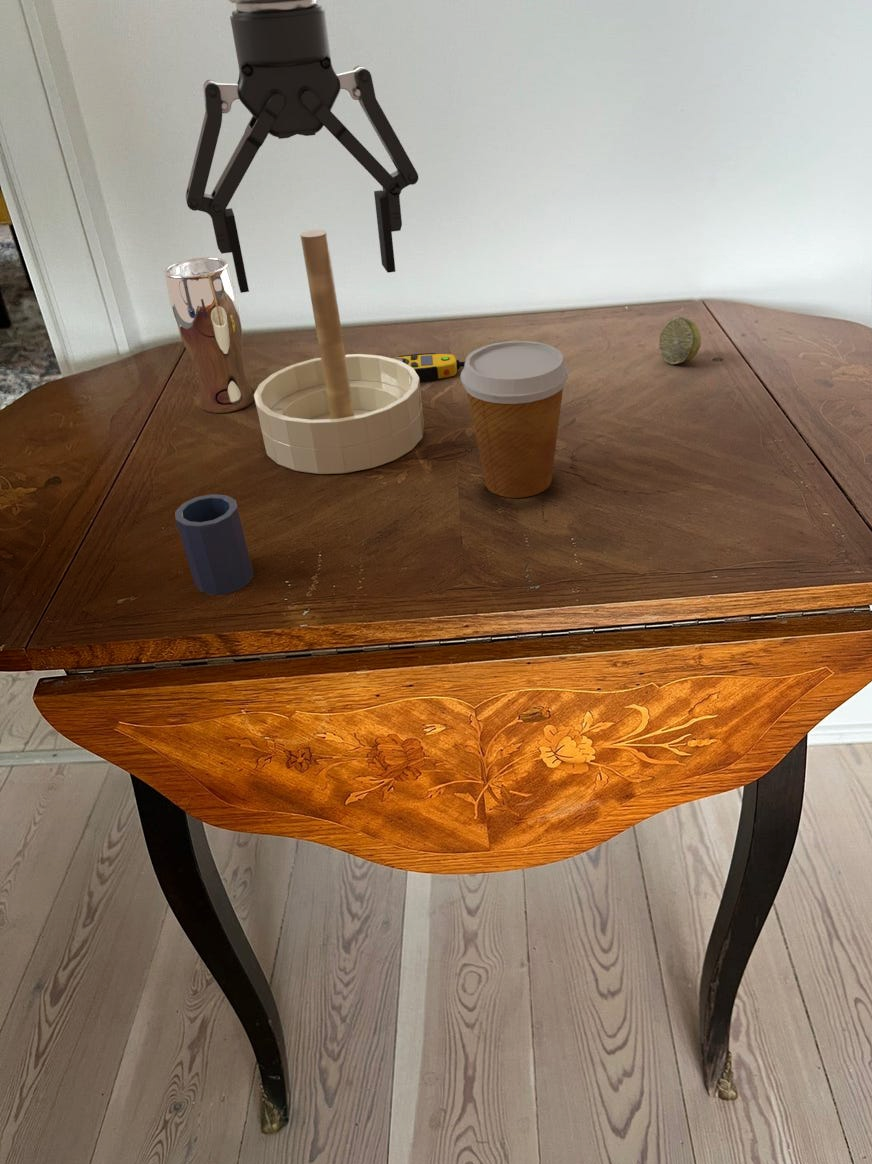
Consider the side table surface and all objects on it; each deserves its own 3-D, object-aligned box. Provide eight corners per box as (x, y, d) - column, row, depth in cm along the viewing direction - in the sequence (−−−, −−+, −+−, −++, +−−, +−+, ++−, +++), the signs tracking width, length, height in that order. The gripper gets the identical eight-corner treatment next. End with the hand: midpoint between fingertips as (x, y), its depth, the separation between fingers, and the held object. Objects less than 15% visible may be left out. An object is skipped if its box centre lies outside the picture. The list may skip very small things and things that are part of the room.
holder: (198, 603, 77) (176, 530, 73) (195, 572, 81) (174, 500, 76) (257, 591, 78) (239, 518, 74) (251, 561, 82) (234, 489, 77)
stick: (336, 442, 97) (302, 238, 85) (332, 432, 99) (298, 231, 87) (359, 438, 98) (328, 234, 85) (354, 428, 100) (324, 228, 87)
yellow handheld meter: (378, 353, 112) (505, 343, 112) (380, 369, 113) (506, 358, 113) (378, 370, 108) (509, 358, 108) (380, 386, 109) (509, 375, 110)
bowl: (275, 492, 91) (263, 434, 87) (258, 422, 104) (247, 369, 100) (441, 461, 94) (436, 404, 90) (405, 396, 107) (399, 344, 103)
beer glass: (240, 383, 112) (210, 252, 103) (269, 401, 108) (241, 265, 98) (186, 402, 109) (150, 268, 99) (214, 420, 104) (179, 282, 95)
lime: (696, 370, 108) (700, 326, 105) (654, 367, 109) (656, 324, 106) (702, 355, 111) (705, 312, 108) (660, 352, 112) (663, 310, 109)
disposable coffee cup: (543, 449, 95) (541, 331, 87) (585, 492, 88) (587, 368, 80) (453, 470, 92) (444, 351, 85) (490, 516, 85) (482, 390, 78)
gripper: (418, -11, 81) (437, 249, 94) (114, 13, 76) (178, 284, 89) (440, -5, 75) (456, 271, 88) (112, 21, 70) (182, 309, 83)
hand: (317, 278), depth 88 cm, fingers open, 13 cm apart
